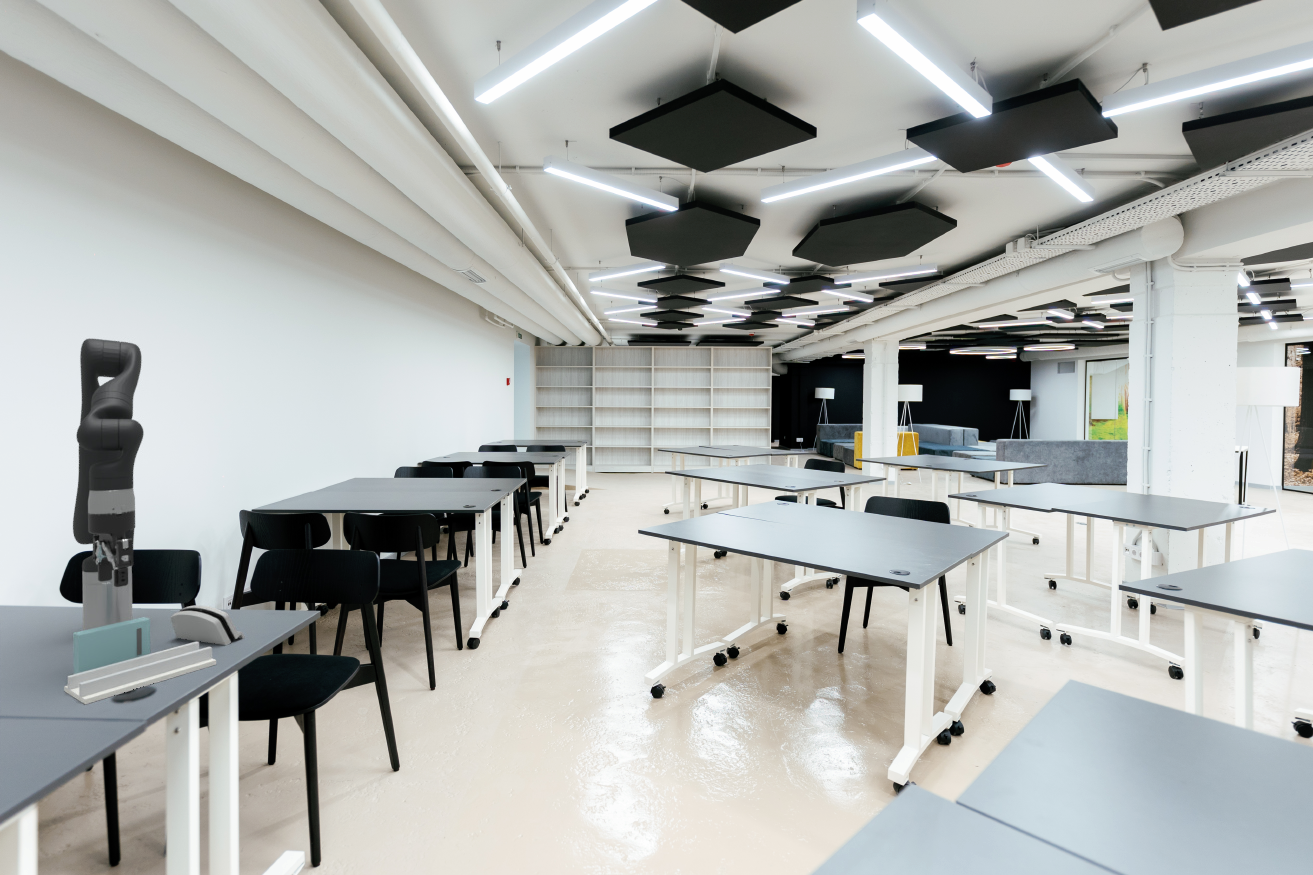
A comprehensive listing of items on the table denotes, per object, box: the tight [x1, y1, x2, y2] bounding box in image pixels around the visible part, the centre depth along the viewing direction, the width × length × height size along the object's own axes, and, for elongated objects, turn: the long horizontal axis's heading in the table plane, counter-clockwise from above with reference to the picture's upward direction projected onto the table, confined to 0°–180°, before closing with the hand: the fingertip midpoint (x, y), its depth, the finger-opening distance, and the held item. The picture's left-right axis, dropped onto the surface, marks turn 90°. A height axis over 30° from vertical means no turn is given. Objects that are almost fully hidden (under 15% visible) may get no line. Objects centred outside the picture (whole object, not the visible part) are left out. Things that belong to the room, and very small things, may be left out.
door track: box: [63, 641, 217, 705], centre depth 125 cm, size 11×22×4 cm, turn 150°
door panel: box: [72, 616, 151, 675], centre depth 128 cm, size 3×12×10 cm, turn 150°
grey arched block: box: [169, 604, 246, 646], centre depth 146 cm, size 17×5×10 cm, turn 75°
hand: (112, 583), depth 128 cm, fingers open, 8 cm apart
